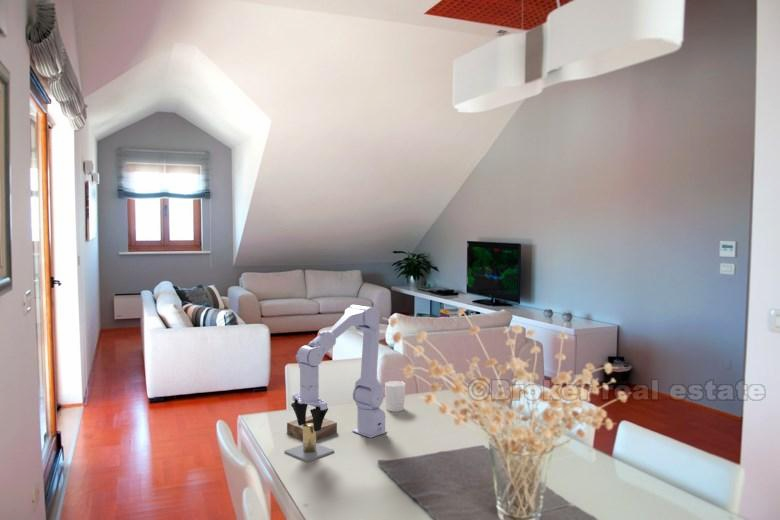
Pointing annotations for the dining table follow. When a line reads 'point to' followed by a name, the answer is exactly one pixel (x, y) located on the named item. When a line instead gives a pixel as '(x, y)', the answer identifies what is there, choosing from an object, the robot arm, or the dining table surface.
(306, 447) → the brass cylinder
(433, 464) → the dining table surface
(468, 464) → the dining table surface
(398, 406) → the white cup
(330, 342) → the robot arm
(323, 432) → the block
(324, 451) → the pad
